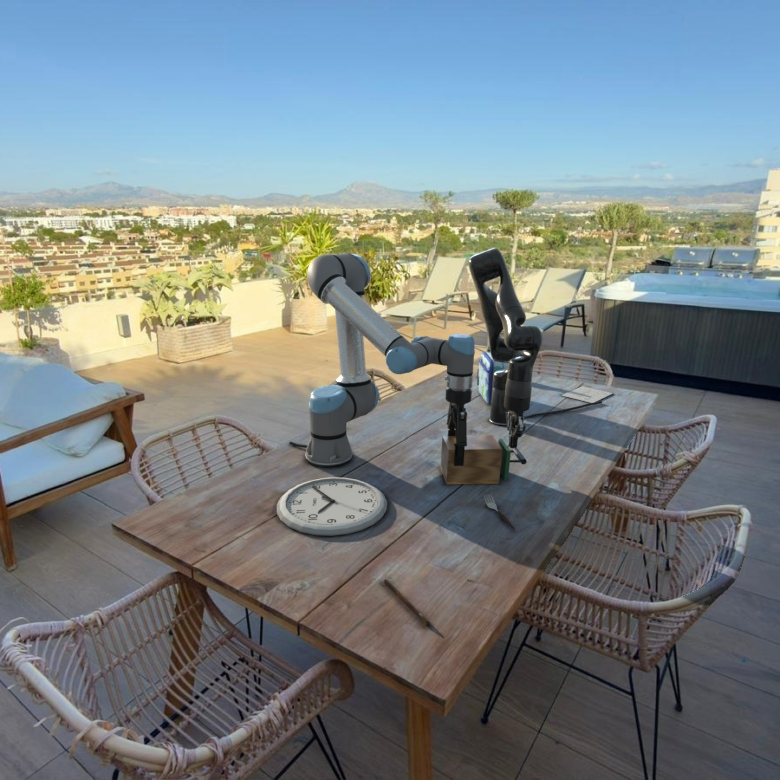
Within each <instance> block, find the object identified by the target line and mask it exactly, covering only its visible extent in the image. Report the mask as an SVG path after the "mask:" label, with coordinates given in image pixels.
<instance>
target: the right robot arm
mask: <svg viewBox="0 0 780 780" xmlns="http://www.w3.org/2000/svg"><path fill="white" fill-rule="evenodd" d="M467 265H468V270H469V273H470V276H471V279H472V282H473V286H474V288H475V290H476V294H477V297H478V301H479V305H480V306H479V307H480V310H481V314H482V315H481V316H482V318H483V321H484V325H485V329H486V333H487V337H488V346H489V345H490V352H491V356H492V359H493V360H494V361H497V362H502V363H508V368H506V369H502V370H497V371H495V372H494V374H493V385H492V398H491V404H490V410H489V411H490V413H489V414H490V415H489V422H490V423H491V424H494V425H497V426H506V430H507V432H508V435H509V437H508V448H509V449H515V448H517V449H518V442H519V438H522V437H523V435H524V432H525V431H526V429H527V426H526V424H524V421H525V419H529V418H533V417H539V416H546V415H553V414H560V413H564V412H569V411H574V410H578V409H581V408H586V407H590V406H594V405H600V404H603V401H602V400H599V401H597V402H594V403H589V402H588V403H585V404H581V405H576V406H572V407H569V408H564V409H558V410H552V411H547V412H539V413H538V412H537V413H532V414H529V415H527V416H526V415H524V413H525V412H528V411H529V410H530V408H531V397H532V390H533V370H534V365H535V363H536V360H537V358H538V354H539V352H540V350H541V347H542V345H543V332H542V330H541V329H540V328H539V327H538V326H536V325H524V324H525V322H526V319H527V315H526V312H525V310H524V308H523V306H522V304H521V301H520V300H519V298H518V296H517V293H516V291H515V287H514V283H513V280H512V278H511V273H510V271H509V268H508V265H507V263H506V259H505V257H504V255H503V253H502V252H501V251H500V250H499V249H498V247H492V248H490V249H487V250H484V251H482V252H479V253H477V254H473V255H472V256H471V257H469V258H468V264H467ZM497 278H499V286H498V290H497V291H495V290H493V289H492V288H490V287H489V285H487V284H486V283H487V282H489V281H492V280H495V279H497ZM502 332H503V337H502V336H501V334H502Z"/></svg>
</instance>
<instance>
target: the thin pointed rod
mask: <svg viewBox="0 0 780 780" xmlns="http://www.w3.org/2000/svg"><path fill="white" fill-rule="evenodd" d="M383 583H384V585H385V586H386V587H387V588H388V589H389V590H390V591H391V592H392V593H394V595H395V596H397V598H398V599H399V600H401V601H402V603H403V604H404V605H405V606H406V607H407V608H408V609H409V610H410V611H411V612H412V613H413V614H414V615H415V616H416V617H417V618H418V619H419V620H420V621H421V622H422V623H423V624H424V625H425V626H426V627H427V626H428V625H429V620H428V619H427V618H426V617H425V616H424V615H423V614H422V613H421V612H420V611H419V610H418V609H417V608H416V607H415V606H414V605H413V604H412V603H411V602H410V601H409V600H408V599H407V598H406V597H405V596H404V595H403V594H402V593H401V592H400V591H399V590H398V589H397V588H396V587H395V586H394V585H393V584H392V583H391V582H390V581H389V580H388V579H386V578H384V581H383Z"/></svg>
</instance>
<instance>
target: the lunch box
mask: <svg viewBox="0 0 780 780" xmlns="http://www.w3.org/2000/svg"><path fill="white" fill-rule="evenodd" d="M508 364H509V363H502V362H497V361H494V360H493V359H492V356H491V352H487V351H482V352H481V354H480V358H479V360H478V369H479V377H478V378H477V381H476V384H477V385H476V386H478V393H479V395H480V396H481V397H482V399H483V400H484V402H485V404H487V405H488V406H489V405H490V406H491V398H492V385H493V374H494V372H495V371H497V370H502V369H506V368H508Z"/></svg>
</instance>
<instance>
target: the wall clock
mask: <svg viewBox="0 0 780 780" xmlns="http://www.w3.org/2000/svg"><path fill="white" fill-rule="evenodd" d="M387 509H388V500H387V498H386V496H385V494H384V493H383V492H382V491H381V490H380V489H379V488H377V487H376V486H374V485H372V484H371V483H369V482H365V481H362V480H359V479H355V478H349V477H338V476H337V477H335V476H333V477H332V476H331V477H322V478H317V479H312V480H307V481H305V482H302V483H299V484H297V485H295V486H293V487H292V488H290V489H288V490H287V491H286V492H285V493H284V494H283V495H281V496H280V498H279V499H278V502H277V503H276V515H277V517H278V518H279V520H280V521H281V522H282V523H283V524H285V525H286V526H287V527H288V528H290V529H293V530H295V531H297V532H299V533H303V534H308V535H312V536H327V537H328V536H329V537H331V536H332V537H333V536H342V535H350V534H352V533H356V532H361V531H363V530H366V529H368V528H369V527H372V526H373V525H375V524H376V523H378V522H379V521H380V520H381V519H382V518H383V517H384V516H385V514H386V512H387Z"/></svg>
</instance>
